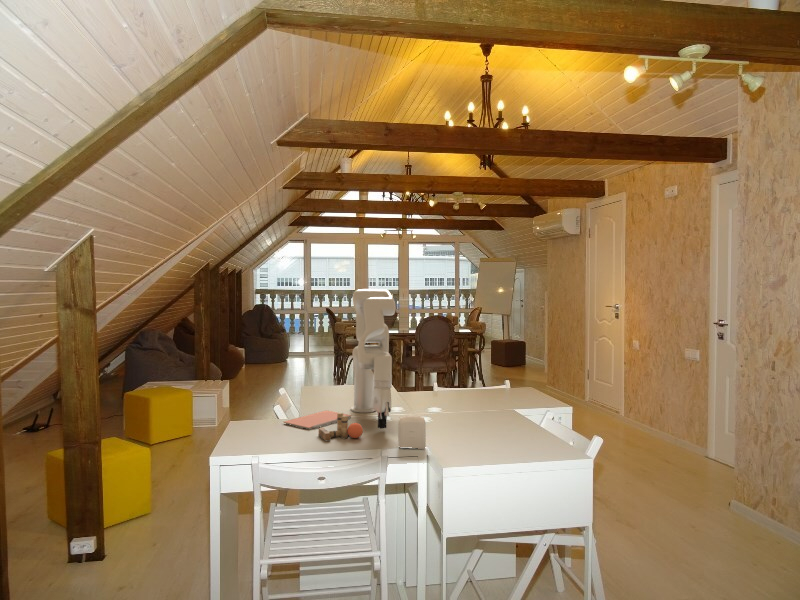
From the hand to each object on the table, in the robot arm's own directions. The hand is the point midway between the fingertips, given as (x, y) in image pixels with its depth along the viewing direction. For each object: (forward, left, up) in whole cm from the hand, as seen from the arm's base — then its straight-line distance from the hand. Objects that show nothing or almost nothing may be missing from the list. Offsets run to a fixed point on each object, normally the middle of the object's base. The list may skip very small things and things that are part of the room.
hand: (382, 427), depth 223 cm
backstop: (0, -25, -2) cm, 25 cm away
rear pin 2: (+3, -17, -2) cm, 18 cm away
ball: (+5, -14, +2) cm, 15 cm away
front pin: (0, -14, 0) cm, 15 cm away
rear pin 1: (-2, -17, -2) cm, 18 cm away
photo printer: (+26, +1, -2) cm, 26 cm away
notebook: (-27, -19, -2) cm, 33 cm away
